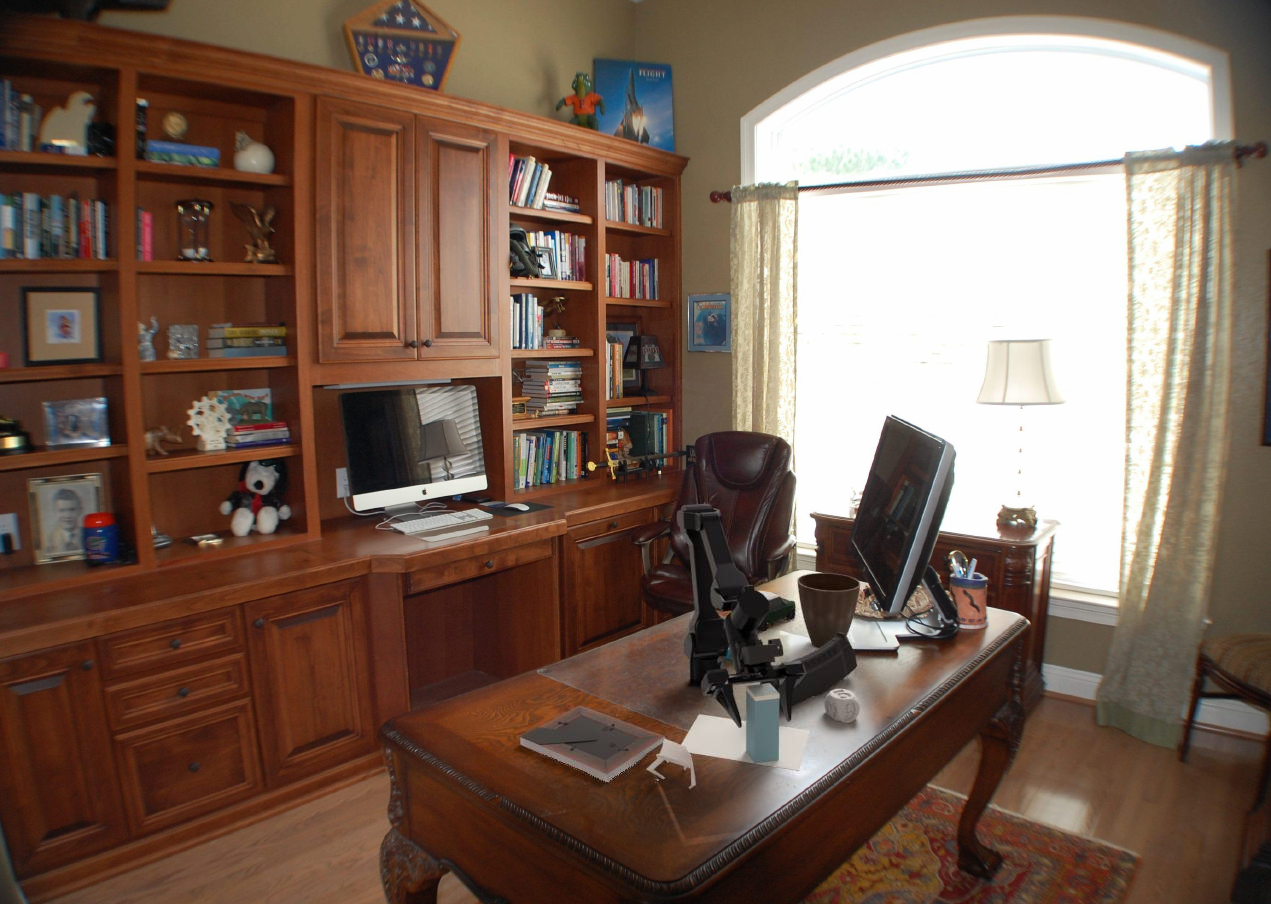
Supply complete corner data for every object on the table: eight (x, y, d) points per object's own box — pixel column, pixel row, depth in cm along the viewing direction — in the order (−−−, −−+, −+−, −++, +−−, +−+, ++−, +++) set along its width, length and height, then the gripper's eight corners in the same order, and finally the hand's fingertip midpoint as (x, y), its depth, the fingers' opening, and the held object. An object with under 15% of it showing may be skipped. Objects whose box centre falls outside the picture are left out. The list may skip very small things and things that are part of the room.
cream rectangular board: (677, 753, 148) (677, 750, 148) (699, 717, 162) (698, 714, 161) (798, 773, 140) (799, 770, 140) (810, 733, 154) (810, 730, 154)
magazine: (759, 682, 156) (847, 605, 174) (746, 677, 159) (835, 602, 176) (775, 752, 162) (859, 671, 179) (762, 746, 164) (847, 667, 182)
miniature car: (799, 617, 218) (799, 588, 217) (756, 635, 206) (757, 604, 204) (772, 609, 224) (772, 581, 223) (729, 626, 212) (729, 596, 211)
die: (844, 710, 164) (845, 686, 163) (859, 721, 159) (860, 697, 158) (823, 714, 162) (824, 691, 161) (838, 725, 157) (838, 701, 157)
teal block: (754, 763, 143) (755, 696, 141) (745, 750, 147) (746, 685, 145) (778, 760, 144) (779, 693, 142) (769, 747, 148) (769, 683, 146)
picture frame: (520, 748, 152) (607, 786, 139) (520, 735, 152) (607, 772, 138) (580, 715, 165) (664, 747, 151) (579, 703, 164) (664, 735, 151)
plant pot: (811, 629, 209) (812, 569, 206) (867, 640, 200) (869, 578, 198) (786, 647, 197) (787, 584, 194) (845, 661, 188) (846, 594, 186)
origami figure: (635, 775, 141) (634, 749, 140) (671, 759, 146) (670, 733, 145) (682, 805, 132) (682, 777, 131) (718, 786, 137) (718, 759, 136)
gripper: (705, 628, 144) (725, 714, 135) (803, 618, 148) (828, 701, 139) (693, 653, 153) (711, 736, 143) (785, 644, 157) (808, 723, 147)
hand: (765, 724), depth 143 cm, fingers open, 9 cm apart
